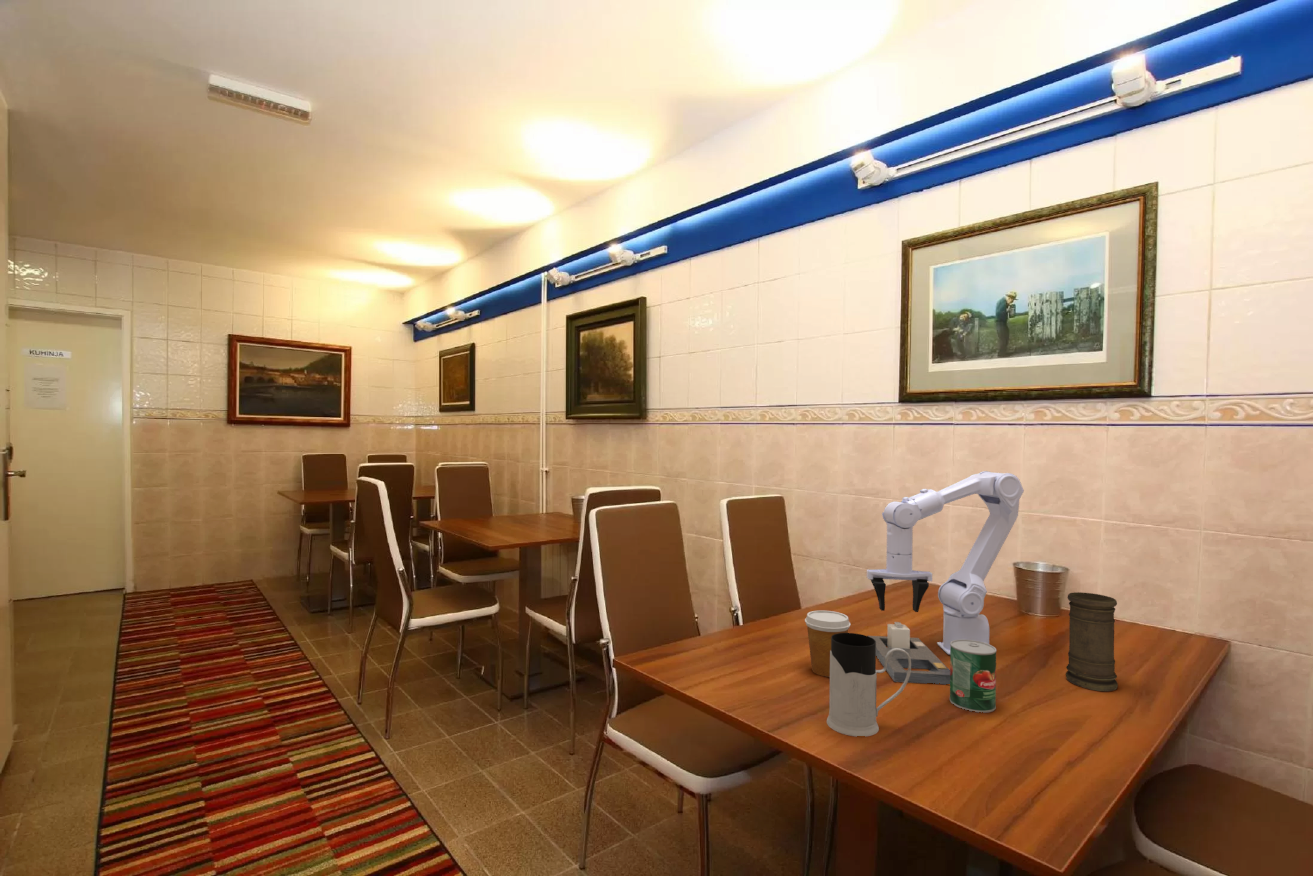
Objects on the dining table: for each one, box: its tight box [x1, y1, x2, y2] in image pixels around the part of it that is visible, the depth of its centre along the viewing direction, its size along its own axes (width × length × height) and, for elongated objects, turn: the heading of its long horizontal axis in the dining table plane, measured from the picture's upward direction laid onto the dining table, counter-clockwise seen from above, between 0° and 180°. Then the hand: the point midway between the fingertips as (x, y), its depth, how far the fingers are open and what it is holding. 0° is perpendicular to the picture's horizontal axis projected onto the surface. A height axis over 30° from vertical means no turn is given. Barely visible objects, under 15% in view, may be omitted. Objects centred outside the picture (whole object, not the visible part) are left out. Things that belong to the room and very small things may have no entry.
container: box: [1065, 591, 1119, 692], centre depth 129 cm, size 9×9×18 cm
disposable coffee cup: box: [804, 610, 851, 678], centre depth 134 cm, size 10×10×12 cm
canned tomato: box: [949, 640, 997, 714], centre depth 118 cm, size 8×8×11 cm
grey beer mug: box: [826, 632, 912, 737], centre depth 109 cm, size 9×14×15 cm, turn 84°
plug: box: [886, 621, 911, 649], centre depth 147 cm, size 4×4×7 cm
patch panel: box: [868, 635, 950, 685], centre depth 140 cm, size 12×24×2 cm, turn 174°
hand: (898, 610), depth 147 cm, fingers open, 7 cm apart
